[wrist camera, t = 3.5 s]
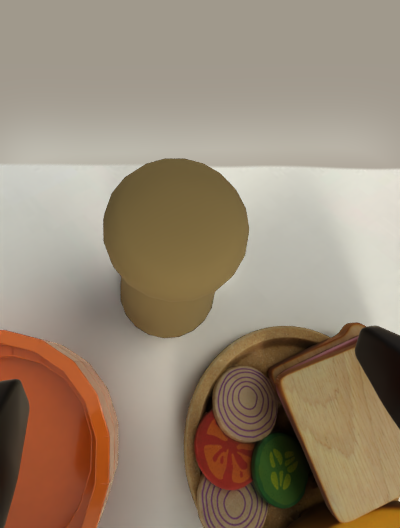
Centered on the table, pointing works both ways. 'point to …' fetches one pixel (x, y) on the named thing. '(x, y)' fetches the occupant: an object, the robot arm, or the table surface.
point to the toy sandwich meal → (291, 436)
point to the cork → (174, 242)
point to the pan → (60, 436)
